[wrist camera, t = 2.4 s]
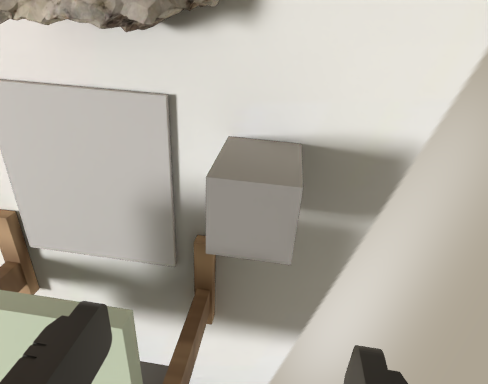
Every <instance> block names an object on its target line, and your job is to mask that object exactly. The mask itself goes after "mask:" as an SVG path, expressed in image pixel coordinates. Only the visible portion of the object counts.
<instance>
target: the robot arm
mask: <svg viewBox="0 0 488 384" xmlns="http://www.w3.org/2000/svg"><path fill="white" fill-rule="evenodd" d="M111 343H112V331H111V326H110V320H109V314H108V308H107V306H106V305H105V304H99V303H93V302H87V301H82V302H80V303H79V304H78V305H77V306H76V307H75V309H74V310H73V311H72V313H71V314H70V315H69V316H63V315H62V316H60V317H59V318H57V319H56V320H55V321H53V322H52V323H50V324H49V325H48V326H46V327H45V328H44V329H43V331H42V332H41V333H40V334H39V335H38V337H37V338H36V339H35V340H34V342H33V344H32V345H30V346H29V348H28V349H27V350H26V351H25V352H24V354H23V356H22V358H20V359H19V360H18V361H17V362H16V363H15V365H14V366H13V367H12V368H11V369H10V371H9V372H8V373H7V374H6V376H5V377H4V378H3V379H2V380H1V382H0V384H91V383H92V382H93V380H94V378H95V376H96V375H97V373H98V371H99V369H100V368H101V366H102V364H103V362H104V361H105V359H106V357H107V355H108V353H109V350H110V347H111ZM344 384H408V383H407V382H406V380H405V379H404V378H403V376H402V374H401V373H400V372H397V371H391V370H388V369H387V365H386V361H385V357H384V354H383V351H382V350H381V349H376V348H370V347H364V346H358V345H356V346H355V347H354V349H353V352H352V355H351V358H350V362H349V365H348V368H347V371H346V374H345V379H344Z"/></svg>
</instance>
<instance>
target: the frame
mask: <svg viewBox="0 0 488 384" xmlns="http://www.w3.org/2000/svg"><path fill="white" fill-rule="evenodd" d="M0 249H1V252H2V255H3V257H4V260H5V263H4V264H3V265H2V266H1V267H0V290H5V291H11V292H18V293H24V294H31V295H34V294H35V293H36V292H37V291H38V290H39V285H38V282H37V279H36V276H35V272H34V269H33V266H32V263H31V259H30V256H29V253H28V250H27V246H26V243H25V240H24V237H23V233H22V230H21V227H20V224H19V221H18V217H17V214H16V212H15V211H8V210H0ZM215 262H216V255H212V254H206V236H201V235H197V237H196V239H195V241H194V291H195V296H194V298H193V301H192V304H191V307H190V309H189V312H188V315H187V318H186V320H185V323H184V326H183V329H182V331H181V334H180V337H179V340H178V342H177V345H176V348H175V351H174V353H173V356H172V359H171V362H170V364H169V367H168V370H167V373H166V376H165V378H164V381H163V384H189V381H190V378H191V375H192V371H193V368H194V364H195V361H196V357H197V354H198V351H199V347H200V344H201V340H202V337H203V333H204V330H205V327H206V324H212V322H213V318H214V310H215Z"/></svg>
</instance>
